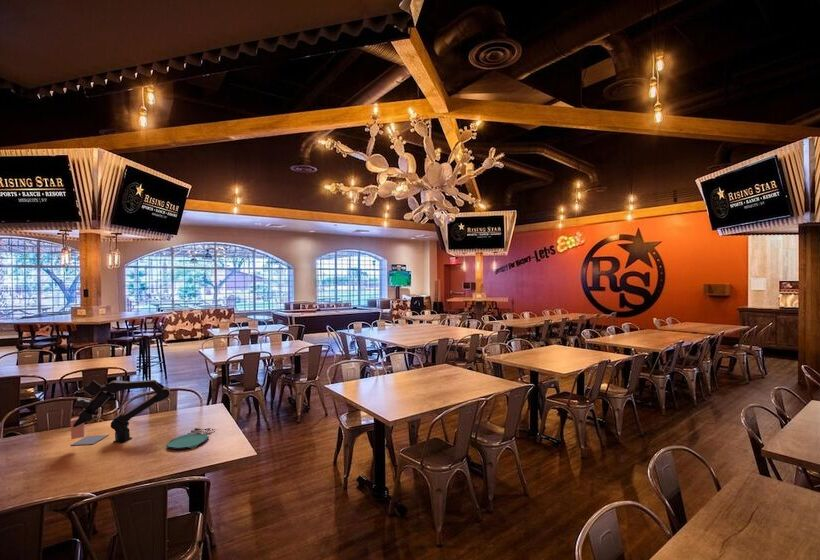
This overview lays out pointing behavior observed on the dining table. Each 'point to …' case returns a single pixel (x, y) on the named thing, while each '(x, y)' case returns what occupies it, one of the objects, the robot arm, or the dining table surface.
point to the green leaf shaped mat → (188, 440)
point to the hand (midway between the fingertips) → (74, 425)
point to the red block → (77, 429)
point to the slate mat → (89, 440)
